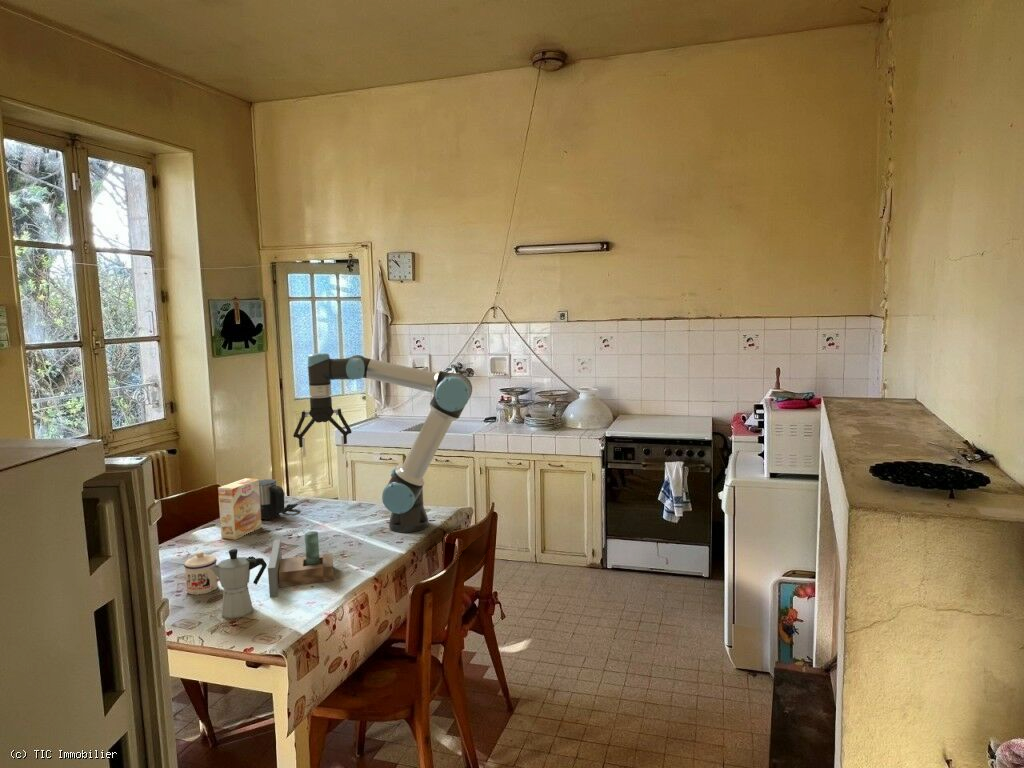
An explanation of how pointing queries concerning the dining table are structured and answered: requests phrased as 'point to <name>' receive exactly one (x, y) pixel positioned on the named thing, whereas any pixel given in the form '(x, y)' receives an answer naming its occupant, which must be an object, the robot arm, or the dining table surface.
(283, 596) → the dining table surface
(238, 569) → the coffee maker
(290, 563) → the socket block
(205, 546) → the dining table surface
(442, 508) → the dining table surface
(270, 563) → the wall
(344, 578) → the dining table surface
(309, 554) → the dowel
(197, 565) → the teacup with lid
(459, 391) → the robot arm
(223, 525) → the coffeecake box
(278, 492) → the milk frother
